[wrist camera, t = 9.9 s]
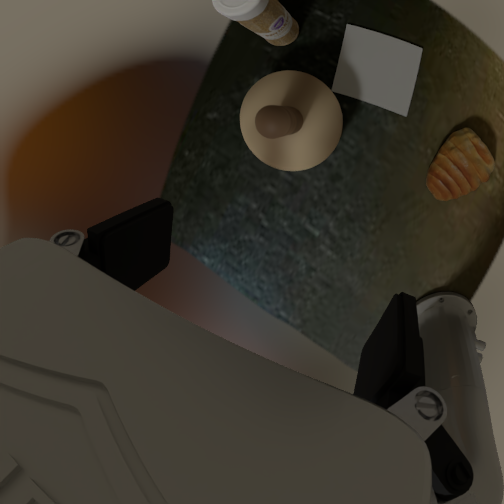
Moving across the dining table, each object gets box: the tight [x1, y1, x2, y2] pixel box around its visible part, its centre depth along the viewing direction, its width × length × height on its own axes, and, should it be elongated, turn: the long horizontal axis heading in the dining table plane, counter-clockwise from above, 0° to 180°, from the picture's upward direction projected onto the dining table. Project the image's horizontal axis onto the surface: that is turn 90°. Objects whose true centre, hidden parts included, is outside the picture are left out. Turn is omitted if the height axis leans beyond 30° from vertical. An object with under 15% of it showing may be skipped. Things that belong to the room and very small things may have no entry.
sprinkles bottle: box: [212, 0, 299, 46], centre depth 22 cm, size 5×5×13 cm
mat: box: [331, 24, 423, 117], centre depth 26 cm, size 9×9×1 cm
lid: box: [240, 70, 343, 171], centre depth 26 cm, size 11×11×7 cm
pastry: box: [426, 128, 495, 201], centre depth 26 cm, size 9×7×4 cm
